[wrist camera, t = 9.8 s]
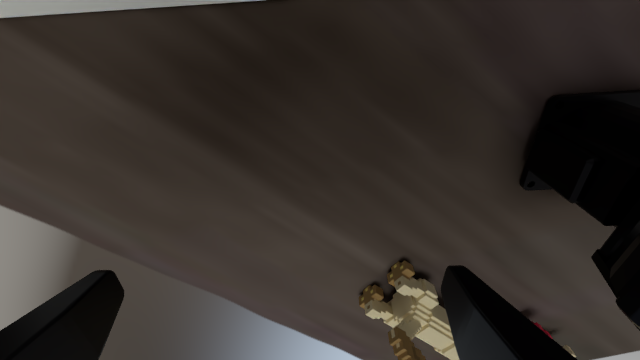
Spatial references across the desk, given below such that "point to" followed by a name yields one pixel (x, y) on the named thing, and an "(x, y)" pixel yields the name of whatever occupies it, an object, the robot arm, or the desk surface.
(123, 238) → the desk surface
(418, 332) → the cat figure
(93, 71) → the desk surface
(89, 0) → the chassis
